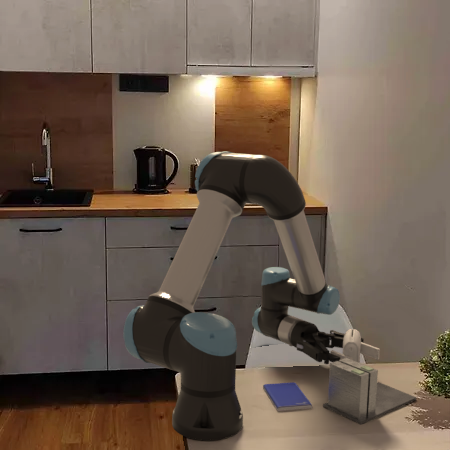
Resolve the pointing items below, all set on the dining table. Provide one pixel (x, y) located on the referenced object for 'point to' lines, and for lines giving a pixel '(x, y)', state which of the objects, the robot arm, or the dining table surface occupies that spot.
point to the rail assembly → (361, 392)
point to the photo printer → (352, 344)
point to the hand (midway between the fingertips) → (365, 359)
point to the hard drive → (287, 396)
